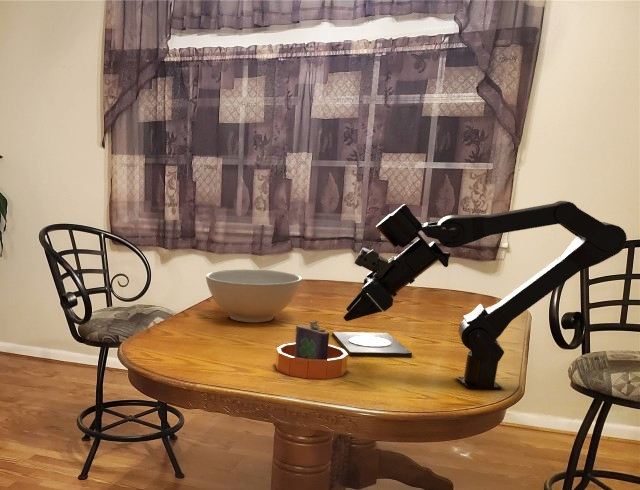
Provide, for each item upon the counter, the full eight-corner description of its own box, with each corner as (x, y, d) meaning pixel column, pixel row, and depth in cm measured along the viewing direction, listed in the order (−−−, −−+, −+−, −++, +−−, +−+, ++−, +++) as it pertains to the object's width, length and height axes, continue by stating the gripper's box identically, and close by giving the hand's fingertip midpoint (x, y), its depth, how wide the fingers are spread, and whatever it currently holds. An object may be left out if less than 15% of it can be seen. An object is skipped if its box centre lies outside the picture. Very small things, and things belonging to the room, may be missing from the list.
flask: (290, 364, 153) (294, 317, 150) (301, 362, 154) (305, 315, 151) (320, 375, 145) (324, 325, 142) (330, 373, 147) (335, 324, 143)
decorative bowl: (234, 304, 217) (236, 266, 213) (314, 316, 200) (317, 275, 197) (186, 319, 197) (187, 277, 193) (270, 333, 181) (273, 287, 177)
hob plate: (411, 357, 158) (412, 352, 158) (349, 356, 159) (350, 351, 159) (387, 336, 177) (387, 332, 177) (332, 335, 178) (332, 331, 178)
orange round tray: (352, 379, 142) (354, 360, 141) (281, 378, 143) (282, 359, 142) (337, 360, 156) (338, 343, 155) (272, 358, 157) (273, 342, 156)
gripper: (383, 230, 145) (324, 279, 152) (381, 239, 129) (316, 294, 136) (418, 269, 145) (357, 317, 152) (421, 283, 128) (353, 336, 135)
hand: (346, 315), depth 144 cm, fingers open, 9 cm apart
